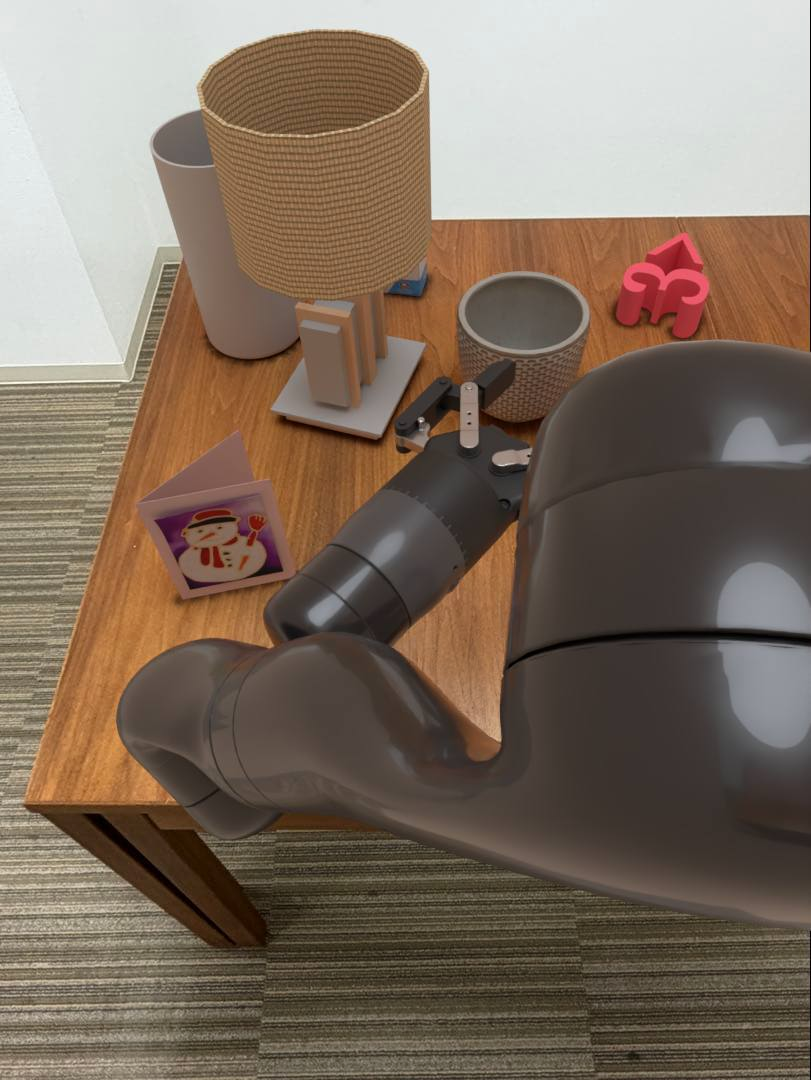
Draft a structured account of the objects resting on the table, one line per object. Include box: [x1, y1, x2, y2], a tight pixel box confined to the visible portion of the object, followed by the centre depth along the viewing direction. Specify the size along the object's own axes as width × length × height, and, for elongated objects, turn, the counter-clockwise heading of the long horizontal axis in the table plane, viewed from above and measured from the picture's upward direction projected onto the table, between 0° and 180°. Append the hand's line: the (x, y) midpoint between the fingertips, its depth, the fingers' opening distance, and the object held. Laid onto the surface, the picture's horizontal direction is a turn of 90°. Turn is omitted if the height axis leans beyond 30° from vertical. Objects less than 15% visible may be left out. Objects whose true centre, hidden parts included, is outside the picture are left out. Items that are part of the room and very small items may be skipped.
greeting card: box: [134, 428, 297, 600], centre depth 75 cm, size 11×7×15 cm, turn 102°
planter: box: [456, 270, 592, 424], centre depth 88 cm, size 14×14×13 cm
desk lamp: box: [195, 28, 433, 441], centre depth 81 cm, size 20×20×35 cm
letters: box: [615, 232, 710, 339], centre depth 101 cm, size 14×10×5 cm
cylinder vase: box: [149, 108, 303, 360], centre depth 93 cm, size 12×12×25 cm
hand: (560, 393), depth 56 cm, fingers open, 8 cm apart
